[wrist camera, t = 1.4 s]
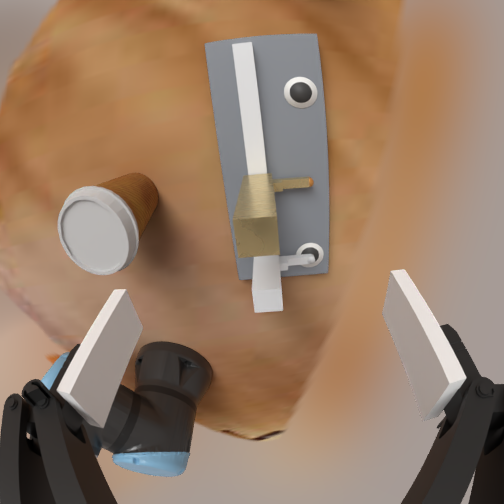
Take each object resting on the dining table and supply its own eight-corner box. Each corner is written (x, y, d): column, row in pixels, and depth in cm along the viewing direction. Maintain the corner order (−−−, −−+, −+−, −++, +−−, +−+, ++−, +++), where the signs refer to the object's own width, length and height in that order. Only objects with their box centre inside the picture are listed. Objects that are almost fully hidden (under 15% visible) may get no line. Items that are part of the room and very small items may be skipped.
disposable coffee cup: (107, 156, 32) (51, 184, 21) (174, 166, 33) (135, 199, 22) (105, 221, 36) (59, 267, 26) (166, 235, 37) (133, 288, 27)
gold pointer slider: (313, 192, 32) (341, 249, 20) (247, 198, 32) (238, 258, 21) (311, 167, 30) (342, 211, 19) (244, 172, 31) (232, 219, 19)
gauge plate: (326, 266, 39) (341, 315, 30) (240, 273, 40) (233, 323, 31) (314, 36, 24) (335, 12, 15) (207, 45, 25) (184, 24, 17)
